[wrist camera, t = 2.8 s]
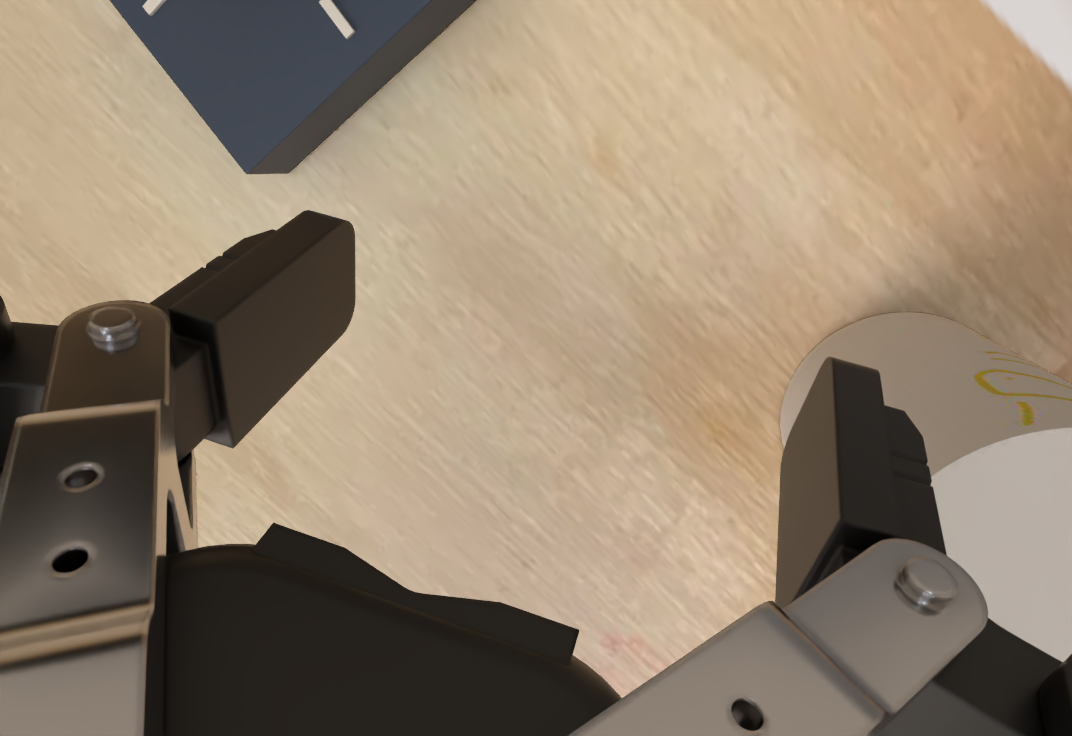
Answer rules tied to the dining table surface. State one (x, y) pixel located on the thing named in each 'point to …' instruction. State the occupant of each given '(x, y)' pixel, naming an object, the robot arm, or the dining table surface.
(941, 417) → the beige solid cylinder
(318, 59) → the console
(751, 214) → the dining table surface
